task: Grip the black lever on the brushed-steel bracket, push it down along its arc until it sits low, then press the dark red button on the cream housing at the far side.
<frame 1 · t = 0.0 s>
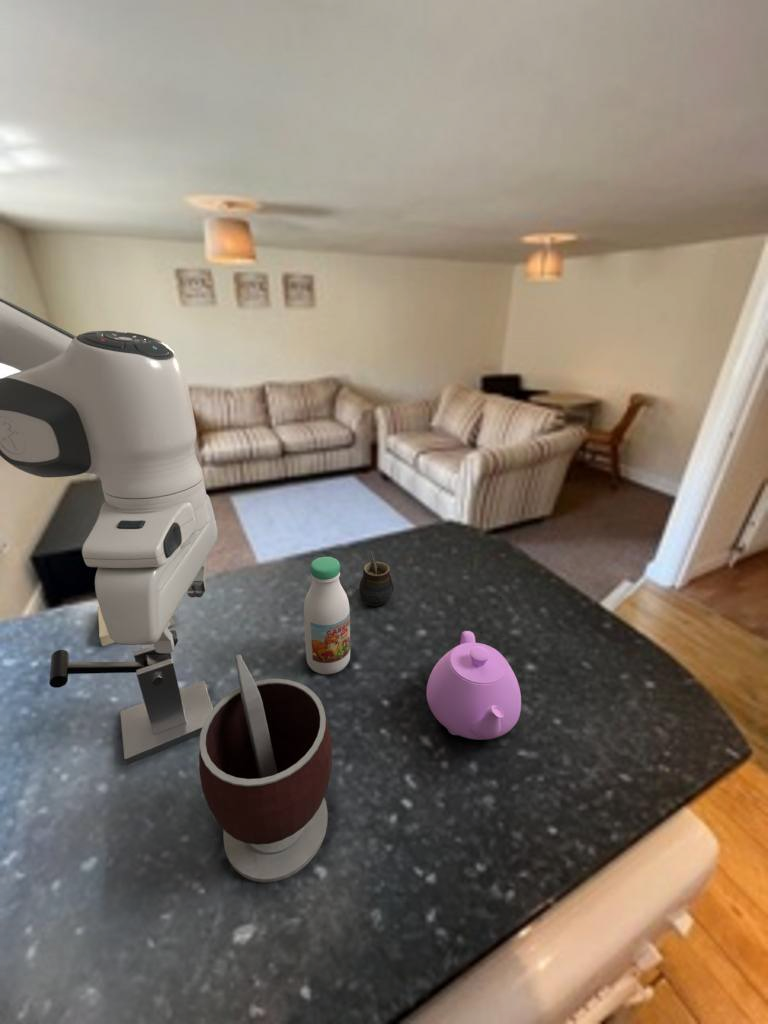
hand: (183, 618, 50), 25 cm above the worktop, tool pointing down, fingers open, 8 cm apart
lever: (112, 667, 59), point 13 cm above the worktop, hinge at 25.0°
button box: (136, 620, 87), on the worktop
milk bottle: (328, 660, 79), on the worktop
mate gourd: (274, 818, 55), on the worktop
bracket: (169, 722, 67), on the worktop
button: (131, 601, 85), point 4 cm above the worktop, slide at 0.1 cm
mate gourd 2: (375, 600, 95), on the worktop
teapot: (471, 717, 69), on the worktop
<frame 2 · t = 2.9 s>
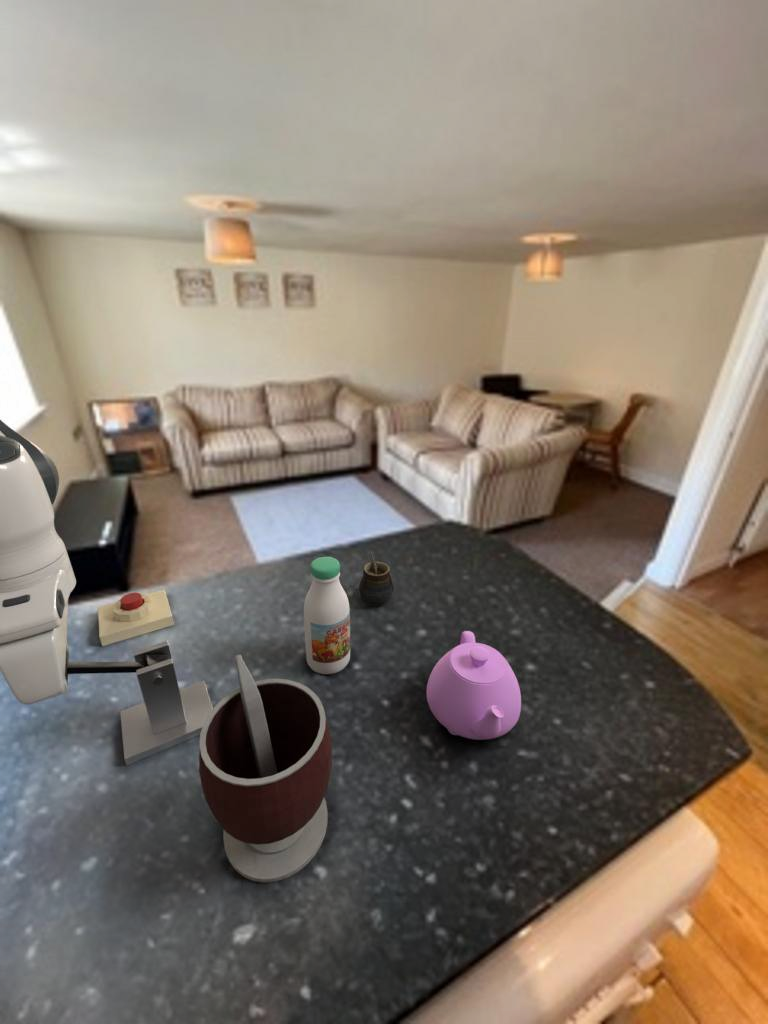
hand: (61, 674, 56), 15 cm above the worktop, tool pointing down, fingers closed on lever, 5 cm apart
lever: (112, 667, 59), point 13 cm above the worktop, hinge at 25.0°, touching gripper
everything else where it was.
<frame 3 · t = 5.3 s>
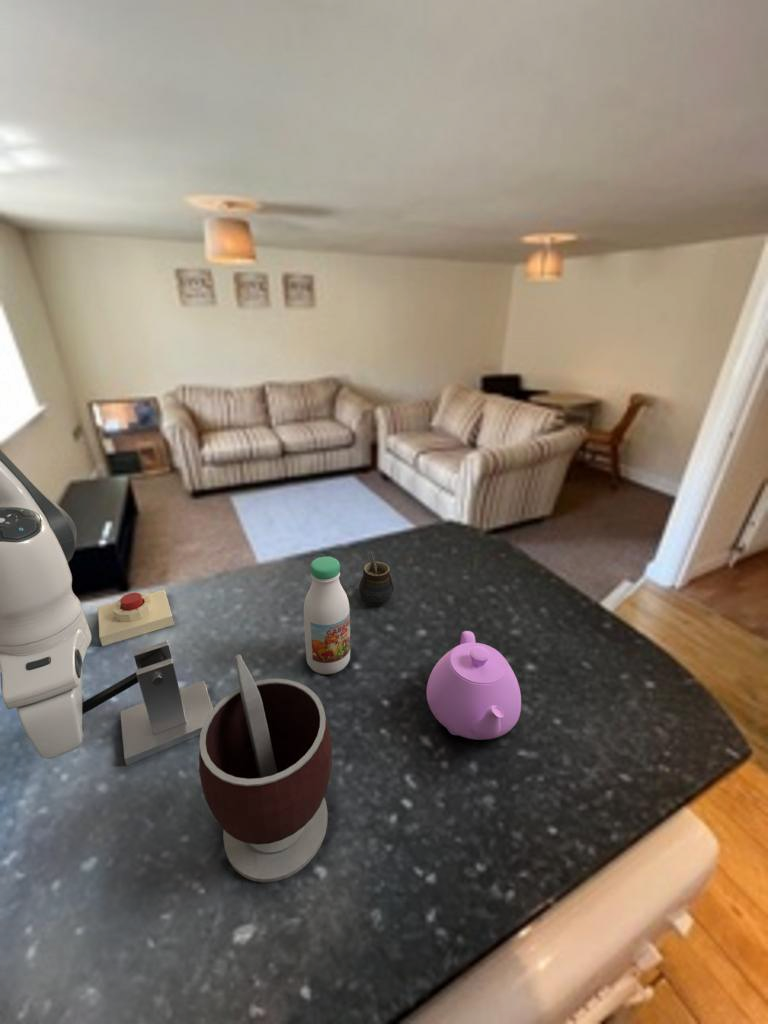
hand: (76, 720, 59), 7 cm above the worktop, tool pointing down, fingers closed on lever, 5 cm apart
lever: (116, 689, 60), point 9 cm above the worktop, hinge at -16.9°, touching gripper
everything else where it was.
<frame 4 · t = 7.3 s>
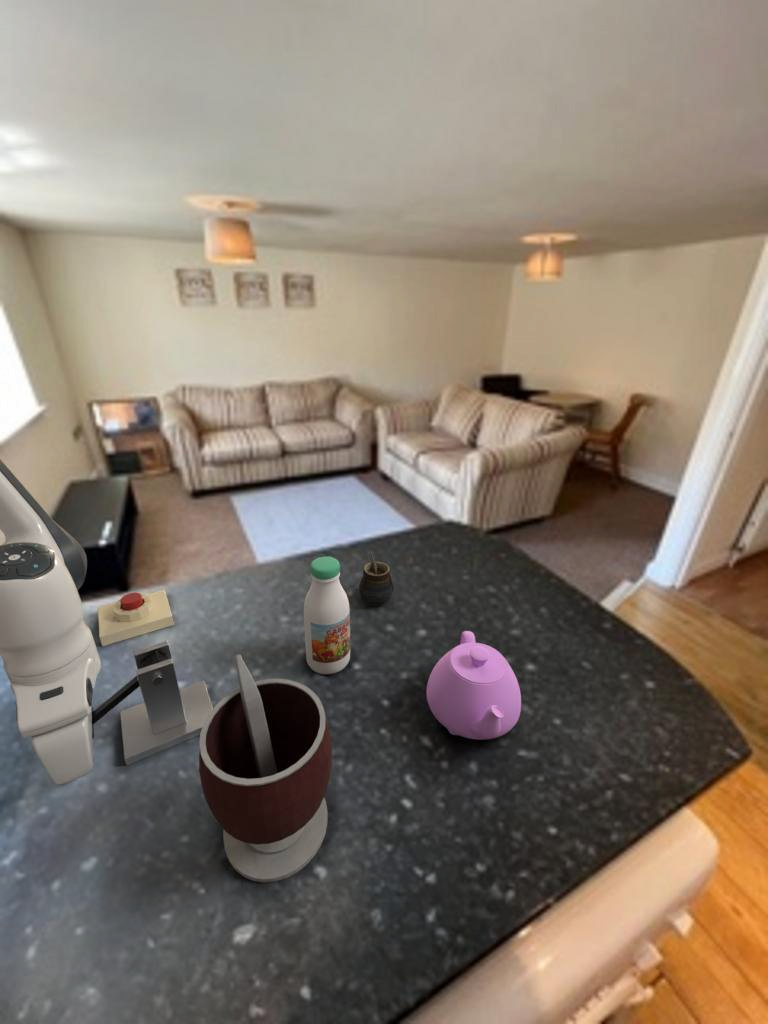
hand: (86, 743, 61), 2 cm above the worktop, tool pointing down, fingers open, 6 cm apart
lever: (122, 693, 61), point 8 cm above the worktop, hinge at -30.5°
everything else where it was.
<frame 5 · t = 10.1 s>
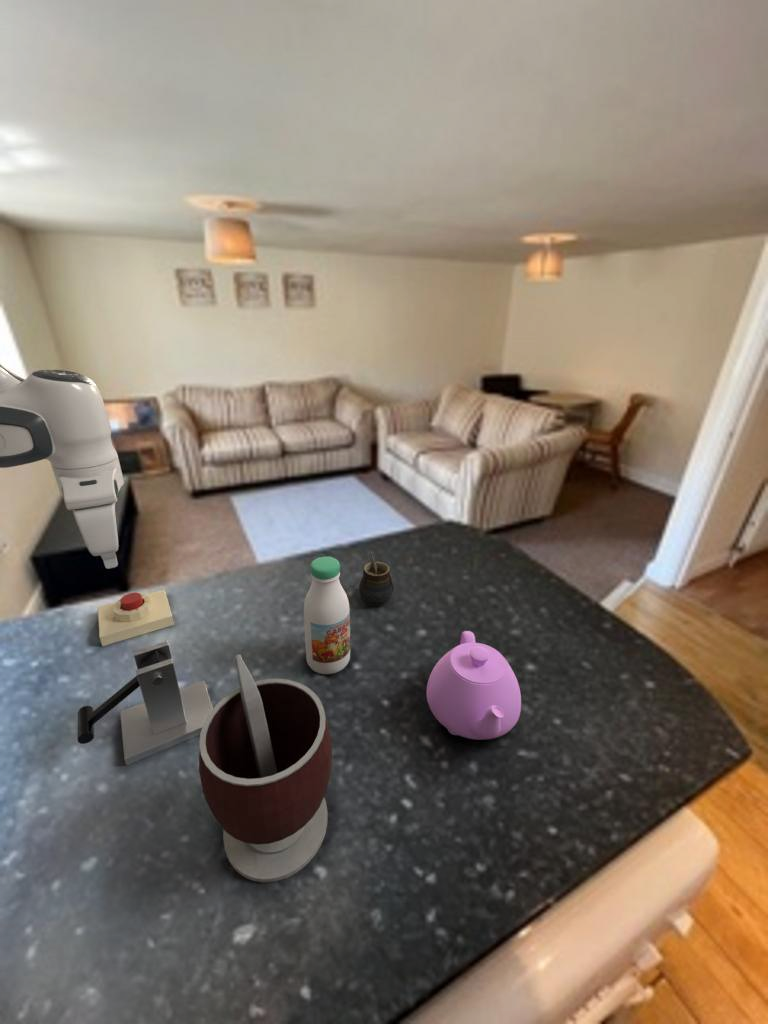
hand: (111, 552, 77), 17 cm above the worktop, tool pointing down, fingers open, 8 cm apart
nothing on the worktop moved.
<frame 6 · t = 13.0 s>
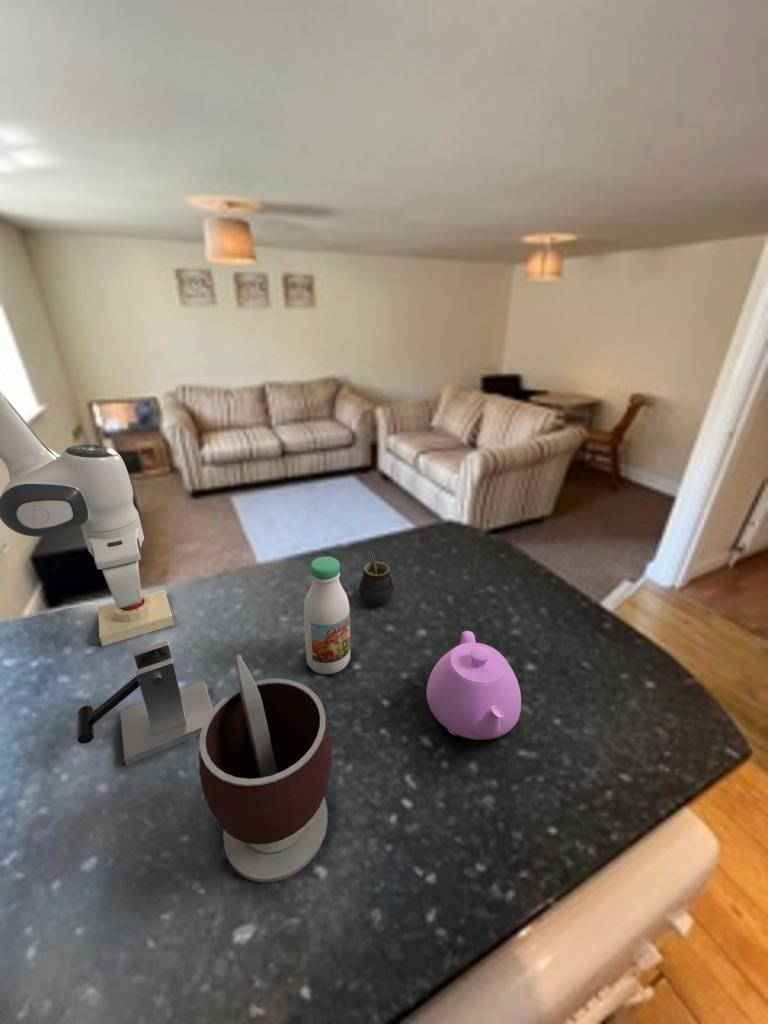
hand: (131, 598, 85), 5 cm above the worktop, tool pointing down, fingers closed, pressing on button
button: (132, 602, 85), point 4 cm above the worktop, slide at -0.2 cm, touching gripper
everything else where it was.
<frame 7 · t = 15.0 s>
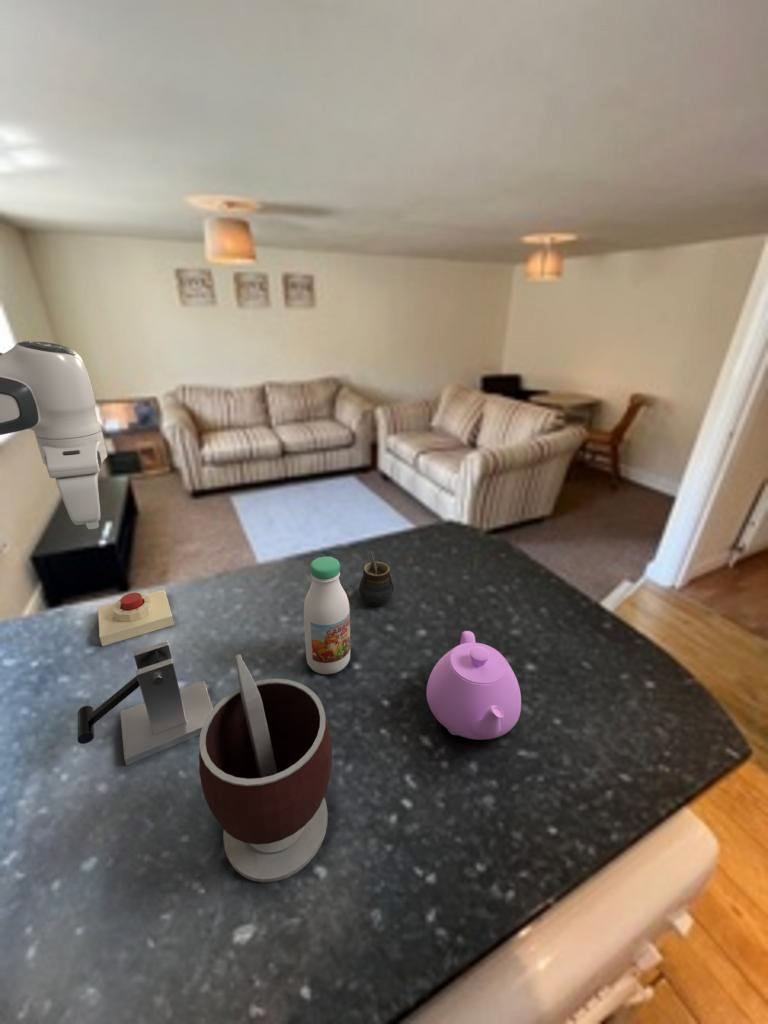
hand: (93, 525, 78), 21 cm above the worktop, tool pointing down, fingers closed
button: (131, 601, 85), point 4 cm above the worktop, slide at 0.1 cm
everything else where it was.
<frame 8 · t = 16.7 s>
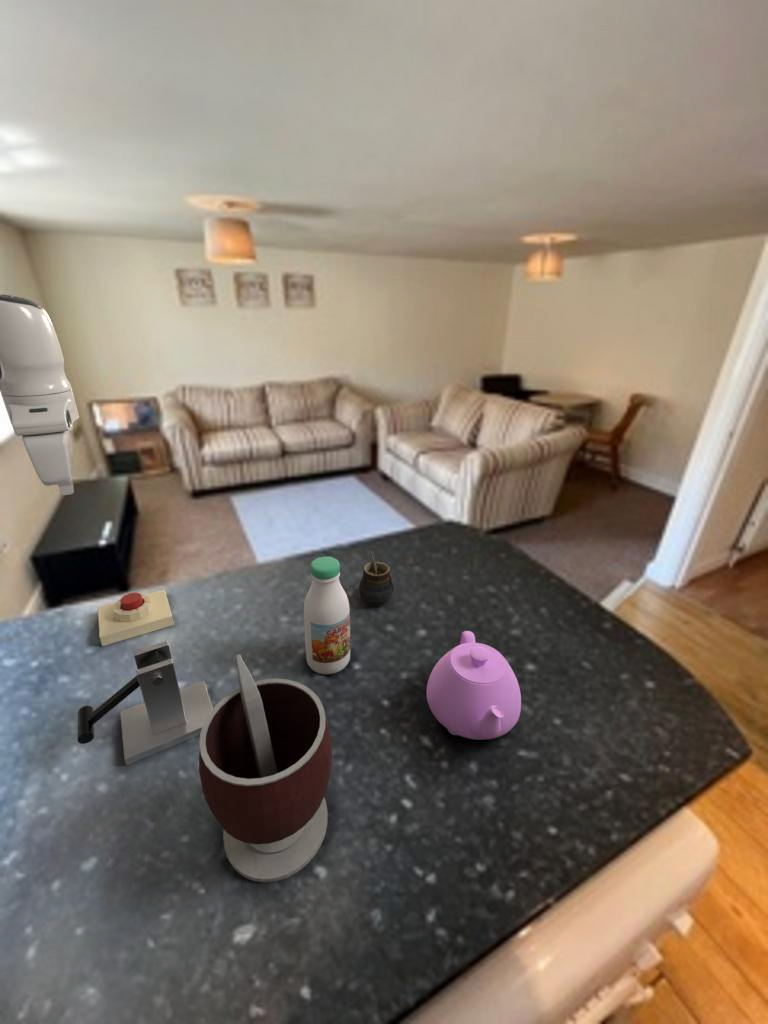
hand: (68, 491, 75), 27 cm above the worktop, tool pointing down, fingers closed
nothing on the worktop moved.
at the end: lever at -30° (first picture: +25°); button pushed in 1.0 cm at the most during the clip, back to where it started at the end; button slide at 0.1 cm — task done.
